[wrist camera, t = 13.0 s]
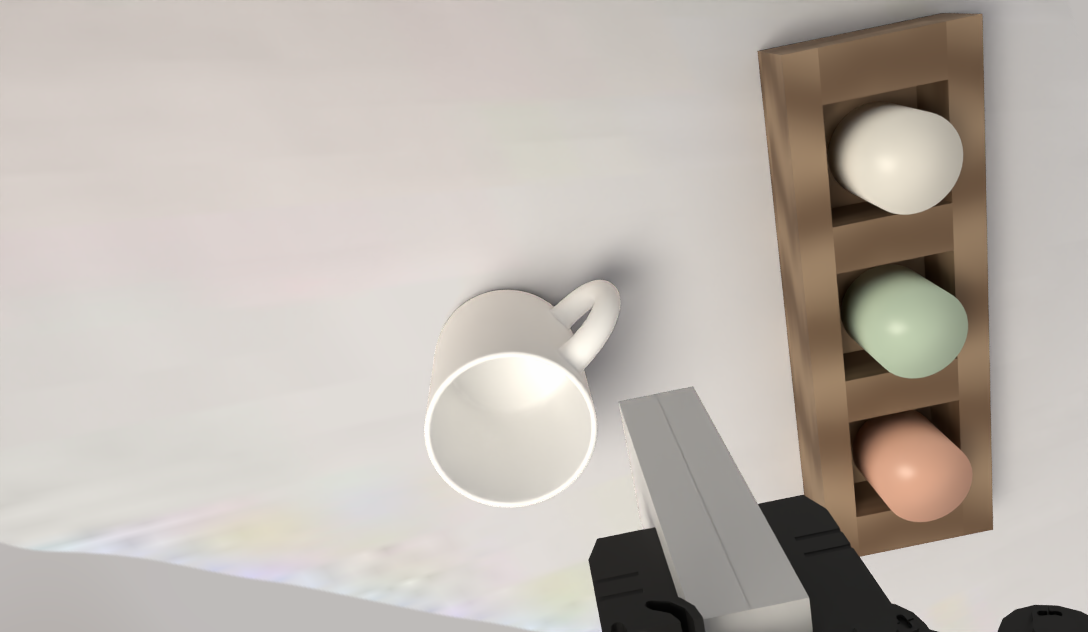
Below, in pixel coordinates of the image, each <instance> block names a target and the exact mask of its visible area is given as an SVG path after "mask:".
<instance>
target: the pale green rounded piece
mask: <svg viewBox="0 0 1088 632" xmlns="http://www.w3.org/2000/svg"><path fill="white" fill-rule="evenodd" d="M841 319H842V323H843V326H844V328H845V330H846V332H847V333H848V335H849V336H850V337H851V338H852V339H853V340H854V341H855V342H856V343H858V344H859V345H860V346H861V347H862V348H863V349H864V350H865V351H866V352H868V353H869V354H870V355H871V356H872V357H873V358H874V359H875V360H876V361H877V362H879V363H880V364H881V365H882V366H883V367H884V368H885V369H887V370H888V371H889V372H891V373H893V374H894V375H897V376H899V377H904V378H922V377H926V376H930V375H932V374H935V373H937V372H939V371H941V370H942V369H944V368H945V367H947V366H948V365H949V364H950V363H951V362H952V361H953V360H954V359H955V358H956V357H957V355H958V354H959V353H960V351H961V349H962V348H963V345H964V343H965V341H966V337H967V333H968V318H967V315H966V312H965V309H964V307H963V306H962V304H961V303H960V302H959V300H958V299H957V298H955V297H954V296H953V295H951V294H950V293H948V292H947V291H945V290H943V289H942V288H940V287H938V286H937V285H935V284H934V283H932V282H930V281H929V280H927V279H925V278H924V277H922V276H921V275H919V274H917V273H916V272H914V271H912V270H911V269H909V268H907V267H904V266H901V265H895V264H887V265H881V266H877V267H874V268H872V269H869V270H868V271H866V272H864V273H863V274H861V275H860V276H859V277H858V278H857V279H855V281H854V282H853V283H852V284H851V285H850V287H849V288H848V290H847V291H846V293H845V296H844V298H843V301H842V306H841Z"/></svg>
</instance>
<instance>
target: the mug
mask: <svg viewBox="0 0 1088 632" xmlns="http://www.w3.org/2000/svg"><path fill="white" fill-rule="evenodd" d="M620 306H621V299H620V295H619V291H618V290H617V288H616V287H615V286H614V285H613V284H612V283H610V282H608V281H606V280H594V281H591V282H588V283H586V284H583V285H582V286H580V287H578V288H577V289H575V290H574V291H573V292H571V293H570V294H569V295H567V296H566V297H565V298H564V299H563V300H561V301H560V302H559V303H558V304H557V305H556V306H555V307H554V306H552V305H551V304H550V303H548V302H547V301H545V300H544V299H542V298H540V297H538V296H536V295H533V294H530V293H527V292H523V291H518V290H496V291H491V292H487V293H484V294H481V295H478V296H476V297H474V298H472V299H470V300H469V301H467V302H465V303H464V304H463V305H461V306H460V307H459V308H458V309H457V310H456V311H455V312H454V313H453V314H452V315H451V316H450V318H449V319H448V320H447V322H446V323H445V325H444V327H443V329H442V331H441V333H440V335H439V338H438V341H437V344H436V349H435V354H434V361H433V368H432V375H431V382H430V389H429V396H428V403H427V410H426V417H425V427H424V435H425V444H426V448H427V452H428V455H429V457H430V459H431V462H432V464H433V465H434V467H435V469H436V470H437V472H438V473H439V474H440V476H441V477H442V478H443V479H444V480H445V481H446V482H447V483H448V484H449V485H450V486H451V487H452V488H453V489H455V490H456V491H457V492H459V493H460V494H462V495H464V496H466V497H467V498H469V499H472V500H474V501H476V502H479V503H482V504H486V505H490V506H496V507H523V506H528V505H533V504H536V503H539V502H543V501H545V500H547V499H549V498H552V497H554V496H555V495H557V494H559V493H560V492H562V491H563V490H565V489H566V488H567V487H568V486H570V485H571V484H572V483H573V482H574V481H575V480H576V479H577V478H578V477H579V475H580V474H581V473H582V472H583V470H584V469H585V467H586V465H587V464H588V462H589V460H590V458H591V456H592V453H593V451H594V447H595V444H596V439H597V417H596V411H595V407H594V404H593V400H592V396H591V393H590V389H589V386H588V382H587V378H586V374H585V371H584V369H585V368H586V367H587V366H588V364H589V363H590V362H591V361H592V360H593V359H594V357H595V356H596V355H597V354H598V352H599V351H600V350H601V348H602V347H603V346H604V344H605V343H606V341H607V340H608V338H609V336H610V334H611V333H612V331H613V329H614V327H615V324H616V322H617V319H618V316H619V312H620ZM590 309H592V310H591V312H590V314H589V316H588V317H587V319H586V320H585V322H584V323H583V324H582V326H581V327H580V328H579V329H578V330H577V332H576V333H575V334H574V335H573V332H572V330H571V328H570V327H571V326H572V325H573V324H574V323H575V322H576V321H577V320H578V319H579V318H581V317H582V316H583V315H584V314H585V313H586V312H587V311H589V310H590Z"/></svg>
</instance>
